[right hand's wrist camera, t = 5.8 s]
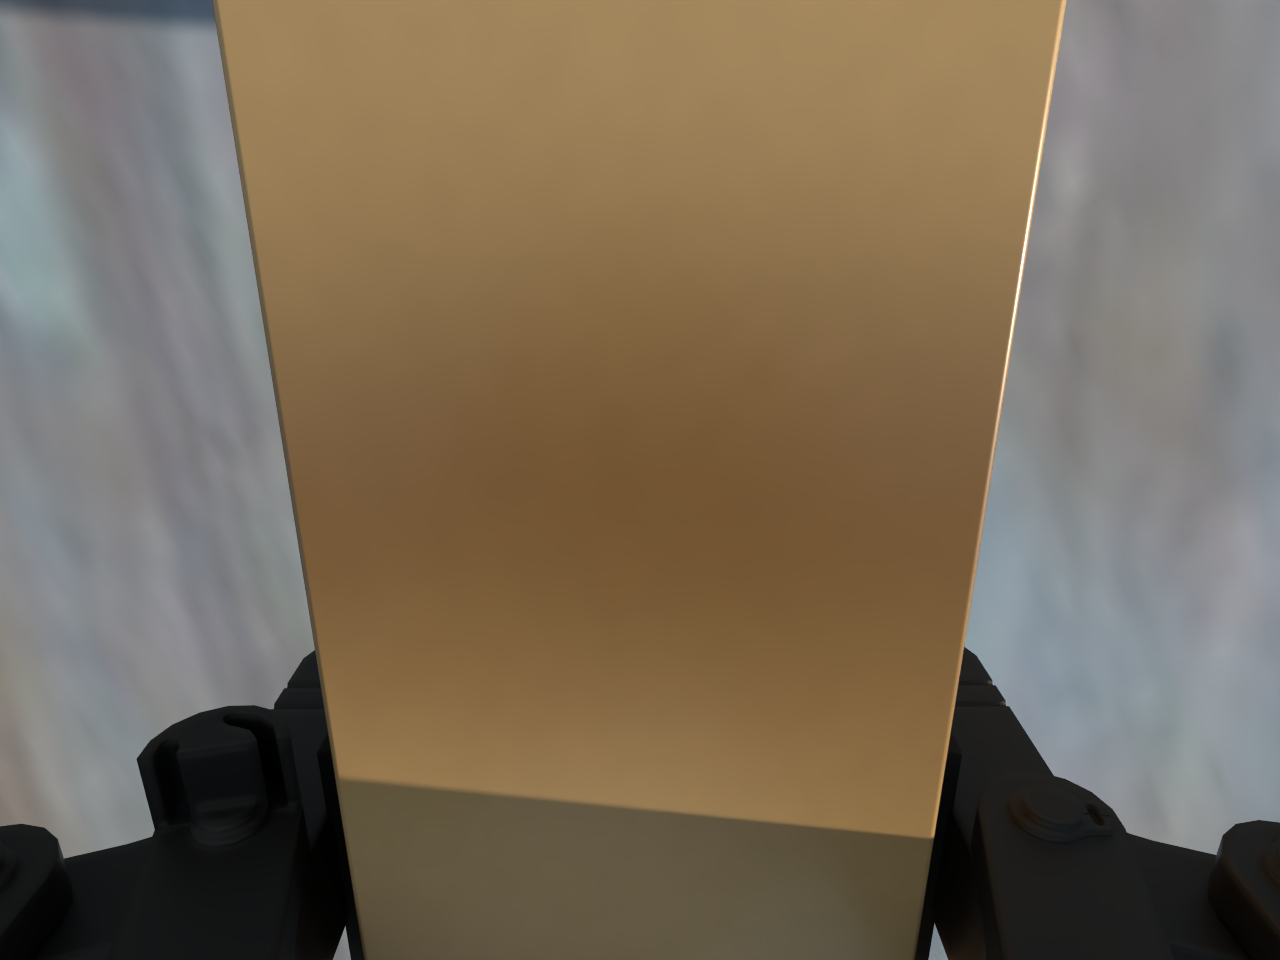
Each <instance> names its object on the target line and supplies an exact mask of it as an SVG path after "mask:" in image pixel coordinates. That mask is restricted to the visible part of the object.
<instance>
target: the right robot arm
mask: <svg viewBox="0 0 1280 960" xmlns="http://www.w3.org/2000/svg"><path fill="white" fill-rule="evenodd" d="M137 762H138V766H139V770H140V774H141V778H142V782H143V786H144V789H145V793H146V797H147V801H148V805H149V809H150V812H151V816H152V820H153V824H154V828H155V831H154V834H153V836H152V837H150V838H146V839H143V840H140V841H136V842H133V843H130V844H126V845H122V846H117V847H113V848H109V849H104V850H100V851H96V852H91V853H87V854H83V855H78V856H74V857H69V858H65V859H64V858H63V855H62V852H61V848H60V845H59V842H58V839H57V838H56V837H55V836H53V835H52V834H51V833H50V832H49V831H48V830H46V829H45V828H43V827H37V826H31V825H25V824H17V825H9V826H1V827H0V960H333V957H334V955H335V952H336V949H337V947H338V944H339V941H340V938H341V936H342V933H343V930H344V928H345V925H346V931H347V937H348V943H349V949H350V955H351V960H364V955H363V949H362V943H361V936H360V930H359V924H358V918H357V911H356V905H355V899H354V892H353V886H352V880H351V873H350V867H349V861H348V854H347V848H346V842H345V835H344V829H343V823H342V816H341V810H340V804H339V798H338V791H337V785H336V779H335V772H334V766H333V760H332V753H331V747H330V741H329V734H328V728H327V722H326V715H325V709H324V703H323V697H322V690H321V684H320V678H319V671H318V665H317V659H316V652H315V650H314V651H313V652H312V653H310V654H309V655H308V656H306V657H305V658H304V659H303V660H302V662H301V663H300V665H299V666H298V668H297V669H296V671H295V673H294V674H293V676H292V677H291V679H290V680H289V682H288V687H287V688H284V690H283V691H282V693H281V694H280V696H279V698H278V699H277V701H276V702H275V704H274V709H271V710H270V709H266V708H262V707H259V706H255V705H252V706H226V707H222V708H218V709H213V710H209V711H205V712H201V713H198V714H196V715H193V716H191V717H189V718H187V719H184V720H182V721H180V722H177V723H175V724H173V725H171V726H170V727H169V728H167V729H166V730H164V731H163V732H162V733H160V734H159V735H158V736H156V737H155V738H153V739H152V740H151V741H150V742H149V743H148V744H147V746H146V747H145V748H144V750H143V751H142V752H141V754H140V755H139V756H138V758H137ZM934 922H935V925H936V928H937V930H938V933H939V936H940V938H941V941H942V944H943V946H944V949H945V952H946V954H947V957H948V960H1280V823H1278V822H1270V821H1262V820H1257V821H1251V822H1245V823H1239V824H1235V825H1234V826H1233V827H1232V828H1231V829H1230V830H1228V831H1227V832H1226V833H1225V834H1224V835H1223V836H1222V840H1221V843H1220V846H1219V849H1218V852H1217V855H1213V854H1209V853H1204V852H1200V851H1196V850H1191V849H1187V848H1182V847H1178V846H1174V845H1169V844H1165V843H1161V842H1156V841H1152V840H1149V839H1145V838H1142V837H1139V836H1135V835H1132V834H1129V833H1127V832H1126V830H1125V828H1124V826H1123V825H1122V823H1121V822H1120V820H1119V819H1118V817H1117V815H1116V814H1115V812H1114V811H1113V809H1111V808H1110V807H1109V806H1108V805H1107V804H1105V803H1104V802H1103V801H1102V800H1100V799H1099V798H1098V797H1097V796H1096V795H1094V794H1093V793H1092V792H1090V791H1088V790H1086V789H1084V788H1082V787H1080V786H1078V785H1076V784H1074V783H1072V782H1070V781H1068V780H1066V779H1063V778H1059V777H1055V776H1054V775H1053V774H1052V772H1051V771H1050V769H1049V768H1048V766H1047V765H1046V763H1045V761H1044V760H1043V758H1042V757H1041V755H1040V754H1039V752H1038V751H1037V749H1036V747H1035V746H1034V744H1033V743H1032V741H1031V740H1030V738H1029V737H1028V735H1027V734H1026V732H1025V730H1024V729H1023V727H1022V726H1021V724H1020V723H1019V721H1018V720H1017V718H1016V716H1015V715H1014V713H1013V712H1012V710H1011V709H1010V707H1009V706H1006V701H1005V699H1004V698H1003V696H1002V695H1001V693H1000V692H999V690H998V689H997V687H996V685H993V684H992V679H991V678H990V676H989V675H988V673H987V671H986V670H985V668H984V667H983V665H982V664H981V662H980V661H979V659H978V658H977V656H976V655H975V654H973V653H972V652H971V651H969V650H968V649H966V648H965V647H964V651H963V657H962V664H961V670H960V676H959V683H958V689H957V695H956V701H955V708H954V714H953V720H952V727H951V733H950V739H949V746H948V752H947V758H946V765H945V771H944V777H943V784H942V790H941V796H940V803H939V809H938V815H937V822H936V828H935V834H934V841H933V847H932V853H931V860H930V866H929V872H928V879H927V885H926V891H925V897H924V904H923V910H922V916H921V923H920V929H919V935H918V942H917V948H916V954H915V960H928V958H929V952H930V946H931V940H932V934H933V928H934Z"/></svg>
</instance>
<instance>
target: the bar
mask: <svg viewBox="0 0 1280 960" xmlns="http://www.w3.org/2000/svg"><path fill="white" fill-rule="evenodd" d="M212 2H213V8H214V15H215V21H216V27H217V34H218V40H219V46H220V53H221V59H222V65H223V71H224V78H225V84H226V90H227V97H228V103H229V109H230V116H231V122H232V128H233V135H234V141H235V147H236V154H237V160H238V166H239V173H240V179H241V185H242V191H243V198H244V204H245V210H246V217H247V223H248V229H249V236H250V242H251V248H252V255H253V261H254V267H255V274H256V280H257V286H258V292H259V299H260V305H261V311H262V318H263V324H264V330H265V337H266V343H267V349H268V356H269V362H270V368H271V375H272V381H273V387H274V393H275V400H276V406H277V412H278V419H279V425H280V431H281V438H282V444H283V450H284V457H285V463H286V469H287V476H288V482H289V488H290V494H291V501H292V507H293V513H294V520H295V526H296V532H297V539H298V545H299V551H300V558H301V564H302V570H303V577H304V583H305V589H306V596H307V602H308V608H309V614H310V621H311V627H312V633H313V640H314V646H315V652H316V659H317V665H318V671H319V678H320V684H321V690H322V697H323V703H324V709H325V715H326V722H327V728H328V734H329V741H330V747H331V753H332V760H333V766H334V772H335V779H336V785H337V791H338V798H339V804H340V810H341V816H342V823H343V829H344V835H345V842H346V848H347V854H348V861H349V867H350V873H351V880H352V886H353V892H354V899H355V905H356V911H357V918H358V924H359V930H360V936H361V943H362V949H363V955H364V960H915V954H916V948H917V942H918V935H919V929H920V923H921V916H922V910H923V904H924V897H925V891H926V885H927V879H928V872H929V866H930V860H931V853H932V847H933V841H934V834H935V828H936V822H937V815H938V809H939V803H940V796H941V790H942V784H943V777H944V771H945V765H946V758H947V752H948V746H949V739H950V733H951V727H952V720H953V714H954V708H955V701H956V695H957V689H958V683H959V676H960V670H961V664H962V657H963V651H964V645H965V638H966V632H967V626H968V619H969V613H970V607H971V600H972V594H973V588H974V581H975V575H976V569H977V562H978V556H979V550H980V543H981V537H982V531H983V524H984V518H985V512H986V505H987V499H988V493H989V487H990V480H991V474H992V468H993V461H994V455H995V449H996V442H997V436H998V430H999V423H1000V417H1001V411H1002V404H1003V398H1004V392H1005V385H1006V379H1007V373H1008V366H1009V360H1010V354H1011V347H1012V341H1013V335H1014V328H1015V322H1016V316H1017V310H1018V303H1019V297H1020V291H1021V284H1022V278H1023V272H1024V265H1025V259H1026V253H1027V246H1028V240H1029V234H1030V227H1031V221H1032V215H1033V208H1034V202H1035V196H1036V189H1037V183H1038V177H1039V170H1040V164H1041V158H1042V151H1043V145H1044V139H1045V132H1046V126H1047V120H1048V114H1049V107H1050V101H1051V95H1052V88H1053V82H1054V76H1055V69H1056V63H1057V57H1058V50H1059V44H1060V38H1061V31H1062V25H1063V19H1064V12H1065V6H1066V0H212Z"/></svg>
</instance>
